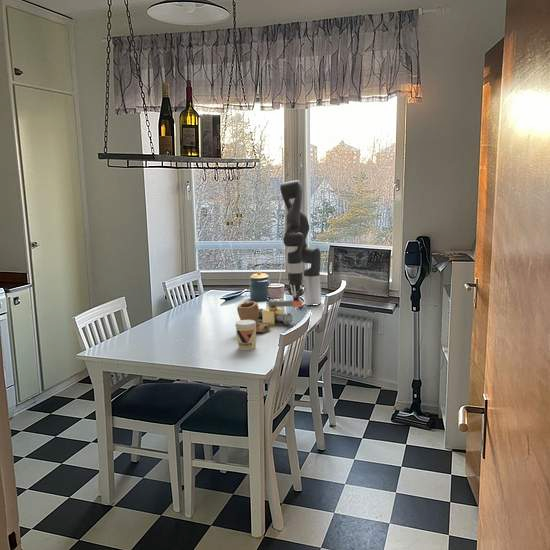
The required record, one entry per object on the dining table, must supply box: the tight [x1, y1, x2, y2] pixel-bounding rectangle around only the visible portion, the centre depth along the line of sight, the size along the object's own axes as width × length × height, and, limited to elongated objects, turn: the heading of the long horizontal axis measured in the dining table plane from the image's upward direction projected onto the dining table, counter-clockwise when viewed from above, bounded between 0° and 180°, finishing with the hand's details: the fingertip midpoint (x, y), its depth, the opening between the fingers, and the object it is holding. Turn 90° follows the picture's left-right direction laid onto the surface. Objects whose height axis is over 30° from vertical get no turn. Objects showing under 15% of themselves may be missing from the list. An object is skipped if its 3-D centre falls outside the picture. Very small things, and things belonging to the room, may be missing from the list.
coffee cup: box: [235, 319, 257, 351], centre depth 259 cm, size 9×9×12 cm
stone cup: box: [237, 300, 272, 333], centre depth 283 cm, size 15×12×15 cm
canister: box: [248, 270, 271, 302], centre depth 352 cm, size 13×13×18 cm
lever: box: [268, 299, 304, 308], centre depth 296 cm, size 17×4×3 cm, turn 80°
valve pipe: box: [258, 306, 293, 327], centre depth 299 cm, size 20×8×9 cm, turn 50°
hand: (296, 304), depth 299 cm, fingers closed
